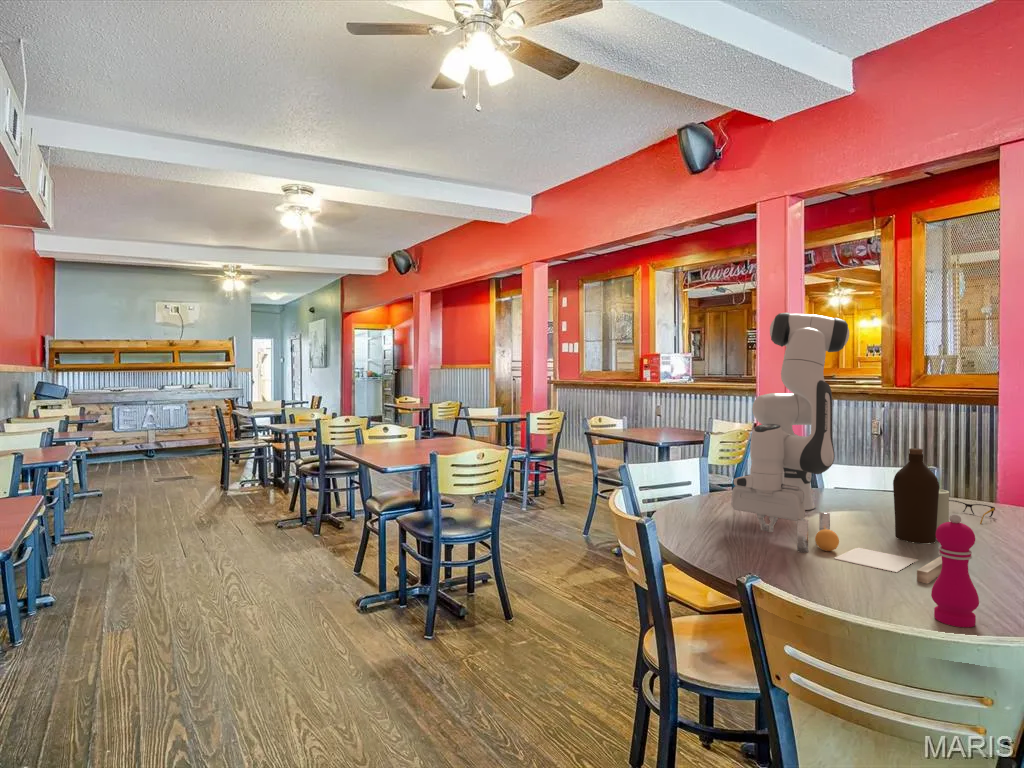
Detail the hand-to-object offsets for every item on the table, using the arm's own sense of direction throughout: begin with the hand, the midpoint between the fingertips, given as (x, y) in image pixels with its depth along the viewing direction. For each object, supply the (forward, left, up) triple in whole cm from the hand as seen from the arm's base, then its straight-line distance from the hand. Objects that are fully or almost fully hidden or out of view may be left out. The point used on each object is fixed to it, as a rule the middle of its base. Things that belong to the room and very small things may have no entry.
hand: (767, 530), depth 173 cm
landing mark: (+28, 0, -2) cm, 28 cm away
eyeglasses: (+28, +69, -2) cm, 74 cm away
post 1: (+13, -6, -2) cm, 15 cm away
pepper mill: (+52, -29, -2) cm, 60 cm away
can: (+27, +43, -2) cm, 51 cm away
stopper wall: (+41, 0, -2) cm, 41 cm away
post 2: (+13, +6, -2) cm, 15 cm away
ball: (+17, -1, +1) cm, 17 cm away
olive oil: (+28, +28, -2) cm, 40 cm away
